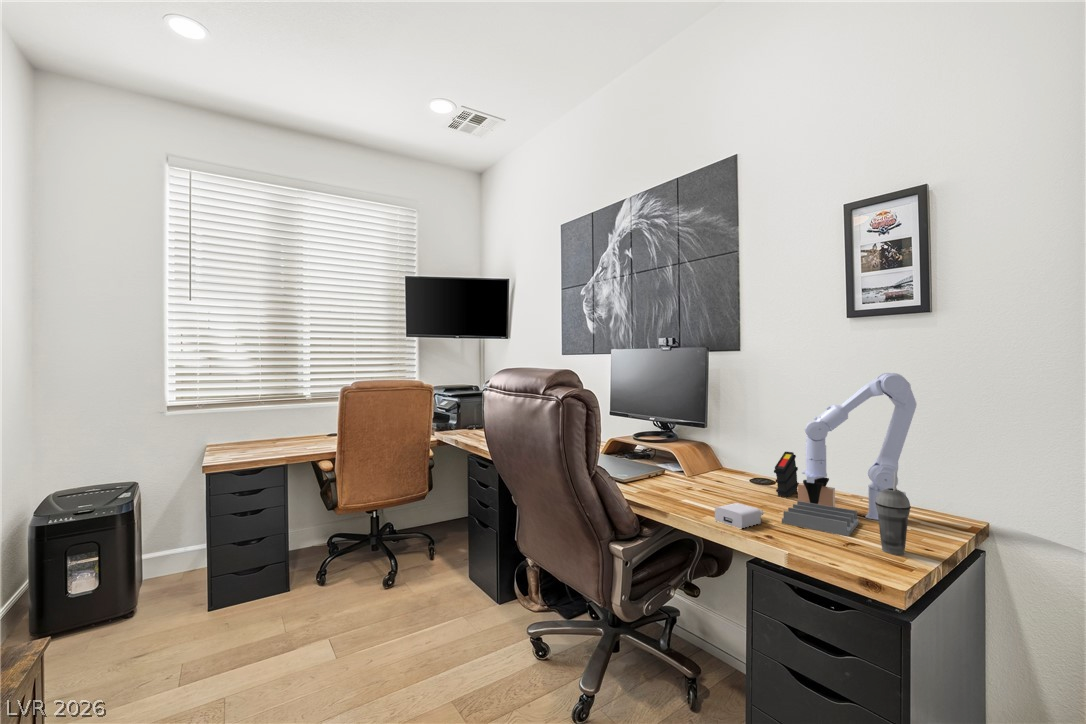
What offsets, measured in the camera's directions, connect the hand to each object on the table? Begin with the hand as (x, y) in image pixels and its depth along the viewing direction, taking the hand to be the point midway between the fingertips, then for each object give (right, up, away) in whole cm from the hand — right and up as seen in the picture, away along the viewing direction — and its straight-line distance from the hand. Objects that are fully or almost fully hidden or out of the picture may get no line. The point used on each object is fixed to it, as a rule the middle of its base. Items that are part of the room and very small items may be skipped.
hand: (816, 501), depth 158 cm
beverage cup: (0, -3, -35) cm, 35 cm away
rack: (-6, -3, -12) cm, 14 cm away
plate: (0, -3, 0) cm, 3 cm away
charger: (-27, -3, -10) cm, 29 cm away
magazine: (0, -3, +20) cm, 20 cm away
